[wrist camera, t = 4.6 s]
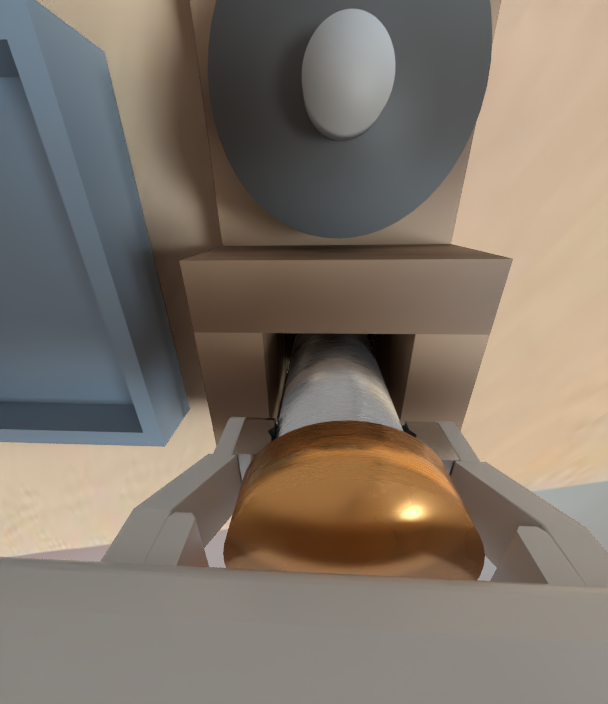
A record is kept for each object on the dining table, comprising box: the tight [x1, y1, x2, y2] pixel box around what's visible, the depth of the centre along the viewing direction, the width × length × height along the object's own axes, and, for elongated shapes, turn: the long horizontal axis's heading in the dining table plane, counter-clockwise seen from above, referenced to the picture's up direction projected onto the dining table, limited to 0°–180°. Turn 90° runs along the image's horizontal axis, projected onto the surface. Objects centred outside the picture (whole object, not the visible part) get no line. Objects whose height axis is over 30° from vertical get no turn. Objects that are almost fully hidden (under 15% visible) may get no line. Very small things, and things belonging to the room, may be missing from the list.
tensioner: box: [179, 0, 513, 445], centre depth 12 cm, size 19×10×6 cm, turn 1°
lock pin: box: [223, 333, 485, 580], centre depth 11 cm, size 5×5×12 cm
